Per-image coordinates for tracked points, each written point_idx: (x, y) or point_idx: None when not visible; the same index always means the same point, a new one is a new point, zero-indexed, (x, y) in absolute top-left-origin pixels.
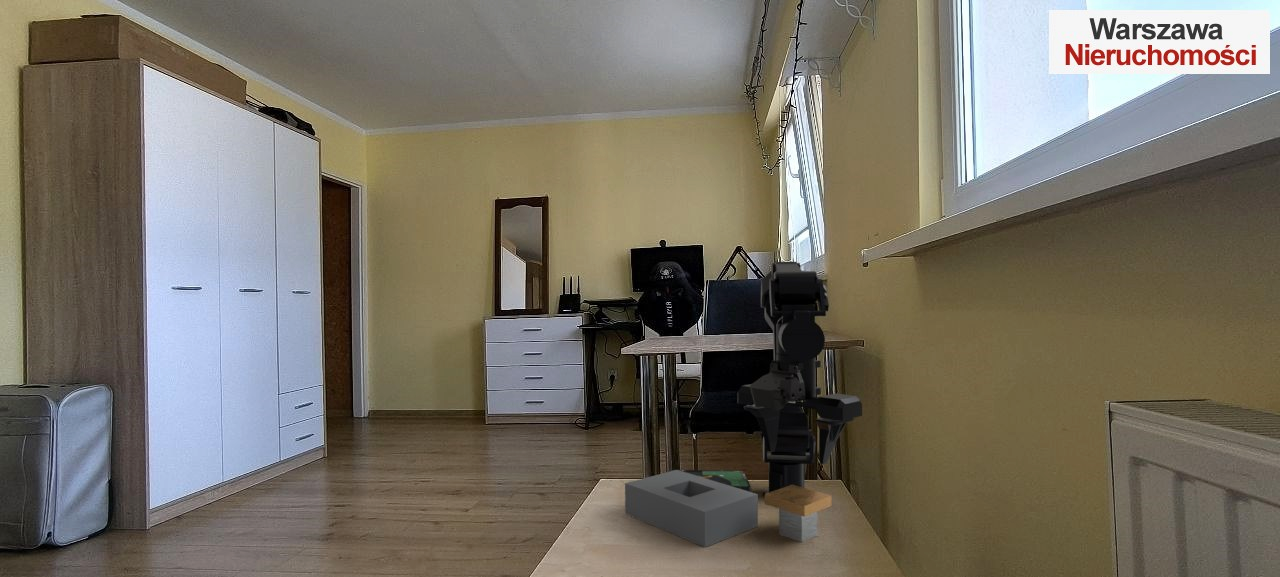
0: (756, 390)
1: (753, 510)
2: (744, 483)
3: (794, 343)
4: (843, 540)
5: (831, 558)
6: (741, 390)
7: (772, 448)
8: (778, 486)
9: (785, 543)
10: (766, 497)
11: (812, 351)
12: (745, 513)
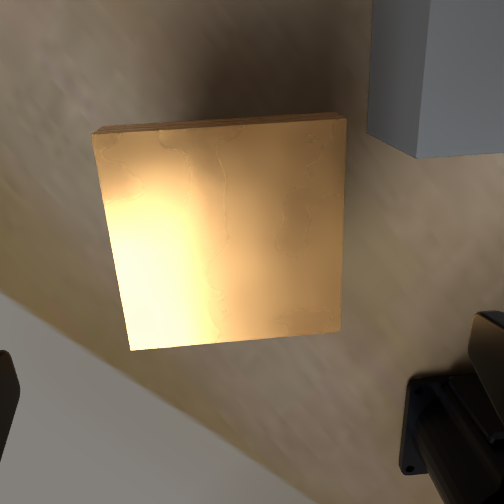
0: None
1: (393, 115)
2: None
3: None
4: (103, 269)
5: (12, 112)
6: None
7: (485, 345)
8: (476, 398)
9: (199, 87)
10: (332, 117)
11: None
12: (396, 54)
